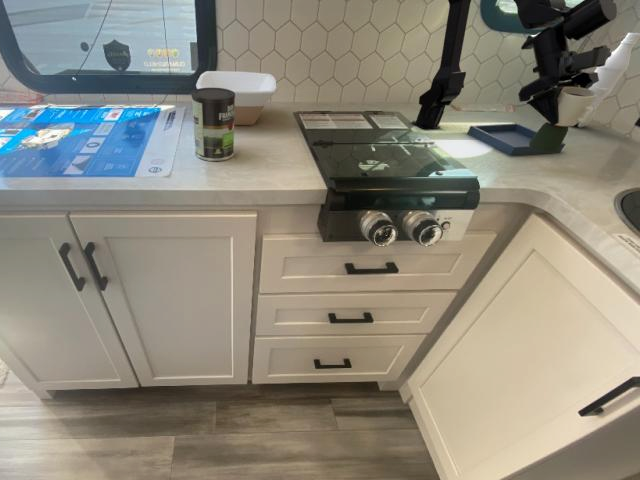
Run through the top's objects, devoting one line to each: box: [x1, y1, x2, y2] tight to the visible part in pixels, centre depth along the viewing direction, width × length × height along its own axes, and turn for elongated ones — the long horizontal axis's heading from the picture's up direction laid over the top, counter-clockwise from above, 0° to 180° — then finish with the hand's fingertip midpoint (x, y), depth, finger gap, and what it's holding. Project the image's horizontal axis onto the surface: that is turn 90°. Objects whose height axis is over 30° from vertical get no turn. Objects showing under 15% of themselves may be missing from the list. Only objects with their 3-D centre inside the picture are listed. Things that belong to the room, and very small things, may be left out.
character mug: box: [529, 87, 597, 152], centre depth 82 cm, size 11×7×13 cm, turn 19°
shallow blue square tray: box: [466, 122, 566, 157], centre depth 103 cm, size 18×18×2 cm
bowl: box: [195, 70, 278, 126], centre depth 107 cm, size 24×25×11 cm
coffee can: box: [190, 88, 235, 162], centre depth 85 cm, size 10×10×14 cm
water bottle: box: [572, 32, 640, 128], centre depth 109 cm, size 7×7×25 cm
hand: (565, 122), depth 80 cm, fingers closed on character mug, 7 cm apart
